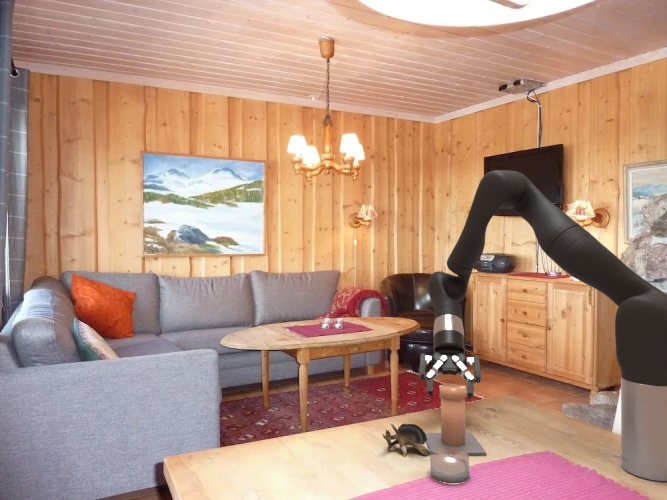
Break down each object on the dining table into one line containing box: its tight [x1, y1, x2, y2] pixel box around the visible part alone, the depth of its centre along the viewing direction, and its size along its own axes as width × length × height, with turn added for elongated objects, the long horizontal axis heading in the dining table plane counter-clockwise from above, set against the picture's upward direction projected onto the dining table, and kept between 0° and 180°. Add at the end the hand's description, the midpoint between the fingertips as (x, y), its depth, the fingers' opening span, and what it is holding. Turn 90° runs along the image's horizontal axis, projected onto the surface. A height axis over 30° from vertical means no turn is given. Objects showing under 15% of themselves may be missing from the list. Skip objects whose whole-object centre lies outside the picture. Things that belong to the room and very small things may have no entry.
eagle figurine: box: [382, 423, 431, 458], centre depth 104 cm, size 8×7×9 cm
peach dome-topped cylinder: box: [439, 383, 467, 447], centre depth 107 cm, size 6×6×12 cm
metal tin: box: [429, 447, 470, 483], centre depth 93 cm, size 7×7×4 cm
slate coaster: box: [425, 431, 487, 457], centre depth 107 cm, size 11×11×1 cm
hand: (450, 396), depth 115 cm, fingers open, 8 cm apart
